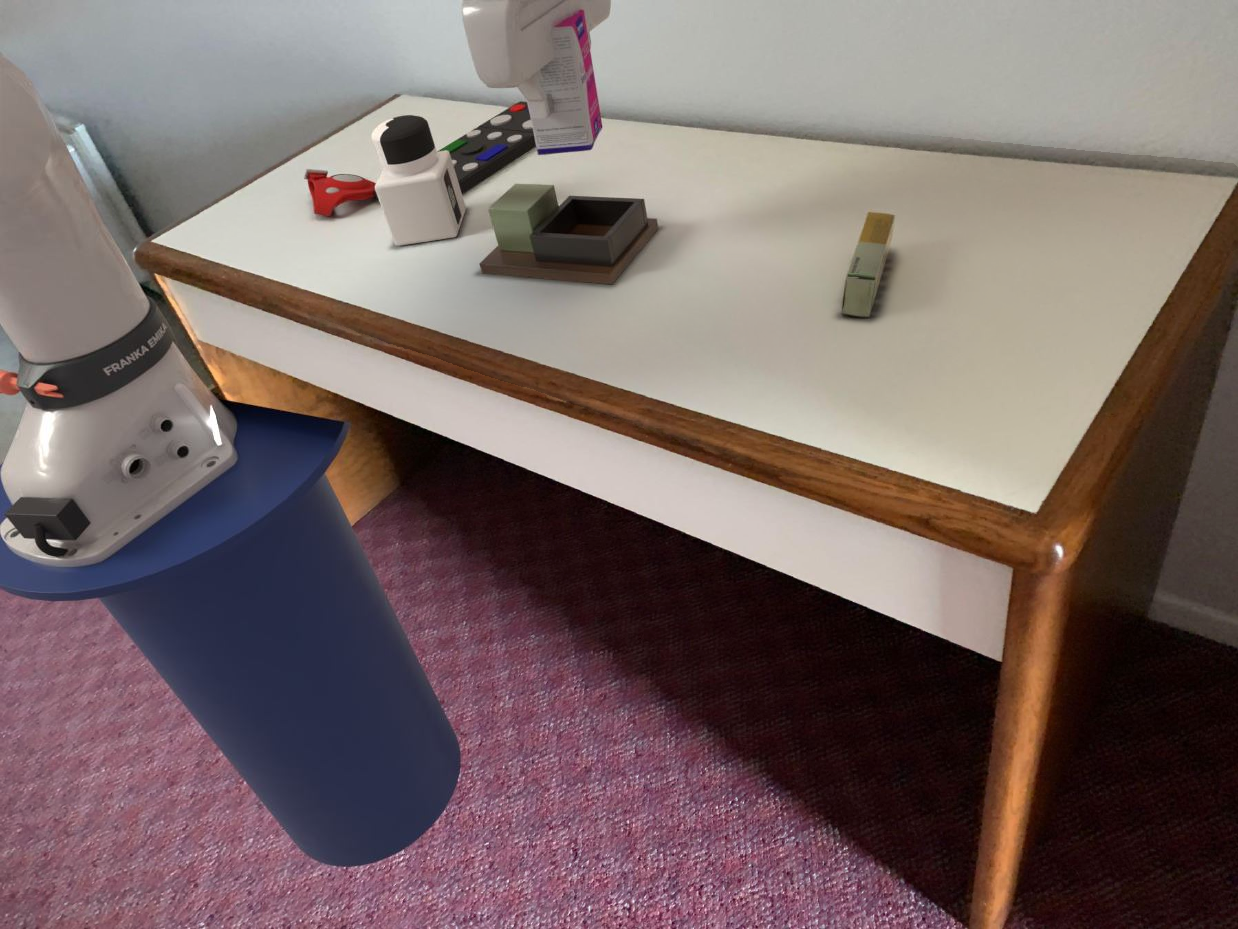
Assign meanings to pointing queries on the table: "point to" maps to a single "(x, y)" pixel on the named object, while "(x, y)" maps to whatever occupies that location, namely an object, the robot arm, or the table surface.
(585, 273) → the desk organizer
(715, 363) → the table surface
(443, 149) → the remote control
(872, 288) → the medication box
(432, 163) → the container
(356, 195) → the red plastic curved piece
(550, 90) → the supplement box
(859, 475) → the table surface
